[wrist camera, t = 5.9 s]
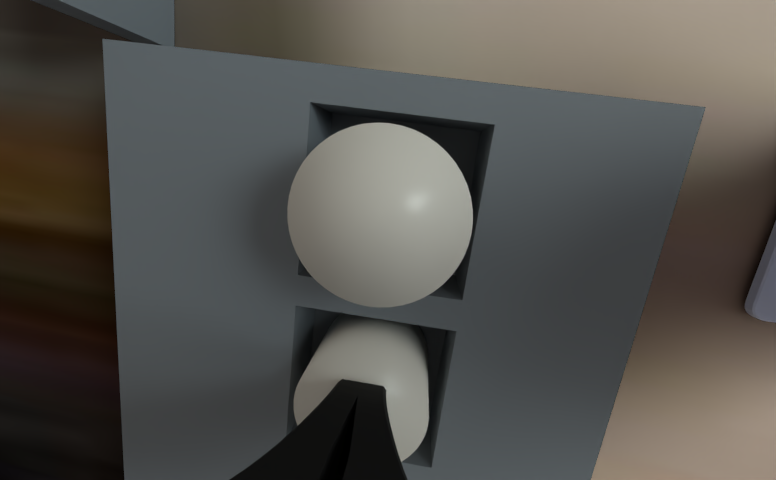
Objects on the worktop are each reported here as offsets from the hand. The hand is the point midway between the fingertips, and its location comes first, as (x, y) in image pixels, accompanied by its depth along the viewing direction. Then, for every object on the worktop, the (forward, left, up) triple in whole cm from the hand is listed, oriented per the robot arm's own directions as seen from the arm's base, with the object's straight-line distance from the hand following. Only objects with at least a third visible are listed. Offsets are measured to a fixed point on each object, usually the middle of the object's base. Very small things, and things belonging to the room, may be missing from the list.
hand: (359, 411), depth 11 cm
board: (0, +3, -4) cm, 5 cm away
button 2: (0, 0, -3) cm, 3 cm away
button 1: (0, -6, -2) cm, 6 cm away
